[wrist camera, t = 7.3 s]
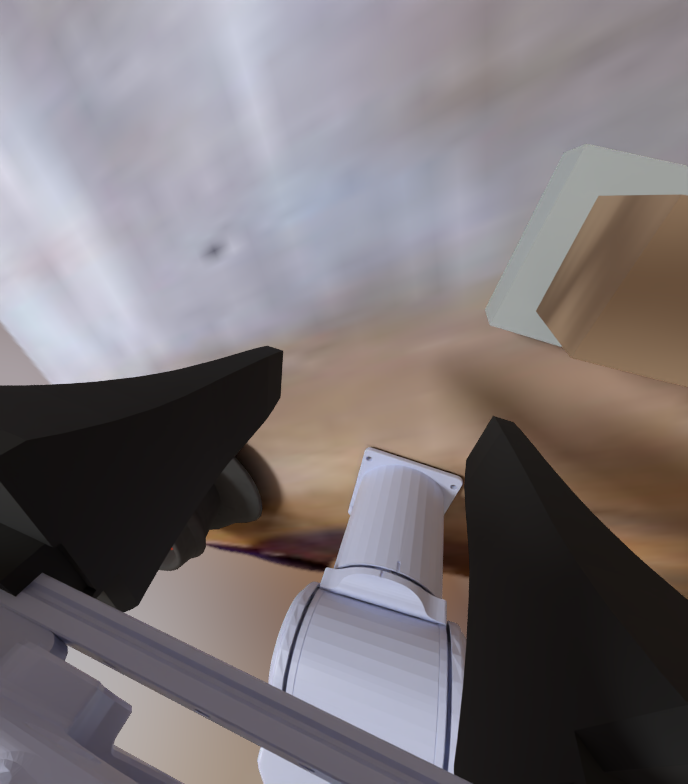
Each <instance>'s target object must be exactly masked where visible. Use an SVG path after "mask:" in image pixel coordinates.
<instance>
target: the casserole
mask: <svg viewBox="0 0 688 784" xmlns="http://www.w3.org/2000/svg"><path fill="white" fill-rule="evenodd" d="M262 509H263V508H262V501H261V497H260V494H259V492H258V489H257V486H256V485H255V483H254V481H253V480H252V478H251V476H250V475H249V473H248V472H247V471H246V469H245V468H244V467H243V466H242V464H241V463H240V462H239V461H238V460H237V459H236V458H235V457H234V458H233V459H232V460H231V461H230V462H229V464H228V465H227V466H226V467H225V469H224V470H223V471H222V472H221V474H220V475H219V476H218V478H217V479H216V481H215V482H214V484H213V485H212V486H211V488H210V489H209V491H208V492H207V494H206V495H205V497H204V498H203V500H202V501H201V503H200V504H199V506H198V507H197V509H196V510H195V512H194V513H193V515H192V516H191V518H190V519H189V521H188V522H187V524H186V525H185V527H184V529H183V530H182V532H181V533H180V535H179V537H178V538H177V540H176V542H175V543H174V545H173V546H172V548H171V550H170V551H169V553H168V554H167V556H166V558H165V560H164V561H163V563H162V565H161V566H160V568H159V570H166V571H172V570H176V569H178V568H179V567H181V566H182V565H183V564H184V563H185V562H187V561H188V560H189V559H191V558H194V557H198V556H200V555H201V554H202V553H203V552H204V550H205V548H206V536H207V534H208V532H209V530H212V529H220V528H223V527H225V526H228V525H231V524H234V523H246V522H251V521H255V520H257V519H258V518H259V517H260V516H261V514H262Z"/></svg>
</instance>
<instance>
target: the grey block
mask: <svg viewBox="0 0 688 784" xmlns="http://www.w3.org/2000/svg"><path fill="white" fill-rule="evenodd" d="M679 194H682V195H688V166H686V165H681V164H677V163H672V162H667V161H663V160H658V159H654V158H649V157H645V156H640V155H635V154H631V153H626V152H622V151H617V150H613V149H608V148H604V147H599V146H594V145H590V144H584V145H582V146H579V147H577V148H574V149H572V150H569V151H567V152H565V153H564V154H563V156H562V158H561V160H560V162H559V164H558V166H557V168H556V170H555V172H554V173H553V175H552V177H551V179H550V181H549V183H548V185H547V187H546V189H545V191H544V193H543V195H542V197H541V199H540V201H539V203H538V205H537V207H536V209H535V211H534V213H533V215H532V217H531V219H530V221H529V223H528V225H527V227H526V229H525V231H524V233H523V235H522V237H521V239H520V241H519V243H518V245H517V247H516V249H515V251H514V253H513V255H512V257H511V259H510V261H509V263H508V265H507V267H506V269H505V271H504V273H503V275H502V277H501V279H500V281H499V283H498V285H497V287H496V289H495V291H494V293H493V295H492V297H491V298H490V300H489V302H488V304H487V306H486V308H485V311H486V314H487V318H488V321H489V324H490V325H491V326H494V327H497V328H501V329H504V330H507V331H511V332H514V333H517V334H521V335H524V336H527V337H530V338H534V339H537V340H540V341H544V342H547V343H550V344H554V345H557V346H560V347H562V346H561V344H560V343H559V342H558V340H557V339H556V338H555V336H554V335H553V334H552V332H551V331H550V330H549V328H548V327H547V326H546V324H545V323H544V322H543V320H542V319H541V318H540V316H539V315H538V314H537V312H536V310H537V308H538V306H539V304H540V302H541V301H542V299H543V297H544V295H545V293H546V291H547V290H548V288H549V286H550V284H551V282H552V280H553V278H554V277H555V275H556V273H557V271H558V269H559V267H560V266H561V264H562V262H563V260H564V258H565V256H566V255H567V253H568V251H569V249H570V247H571V245H572V244H573V242H574V240H575V238H576V236H577V234H578V232H579V231H580V229H581V227H582V225H583V223H584V221H585V220H586V218H587V216H588V214H589V212H590V210H591V209H592V207H593V205H594V203H595V201H596V199H597V198H598V196H614V195H679Z"/></svg>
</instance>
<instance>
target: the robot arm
mask: <svg viewBox="0 0 688 784" xmlns="http://www.w3.org/2000/svg"><path fill="white" fill-rule="evenodd" d="M282 362H283V351H282V350H279V349H276V348H273V347H269V346H264V347H259V348H255V349H252V350H248V351H245V352H241V353H238V354H235V355H231V356H228V357H224V358H221V359H217V360H214V361H210V362H206V363H202V364H198V365H194V366H190V367H187V368H183V369H178V370H174V371H169V372H164V373H158V374H152V375H146V376H140V377H133V378H124V379H116V380H107V381H98V382H87V383H73V384H54V385H29V386H28V385H27V386H0V784H184V783H182V782H180V781H178V780H177V779H175V778H173V777H171V776H169V775H168V774H166V773H164V772H162V771H160V770H158V769H157V768H155V767H153V766H151V765H149V764H148V763H146V762H144V761H142V760H140V759H138V758H137V757H135V756H133V755H131V754H129V753H128V752H126V751H124V750H122V749H120V748H118V747H117V746H115V745H113V744H114V741H115V738H116V737H117V735H118V733H119V732H120V730H121V729H122V727H123V725H124V724H125V722H126V721H127V719H128V717H129V716H130V714H131V713H132V706H131V705H130V704H128V703H127V702H125V701H124V700H122V699H121V698H119V697H118V696H116V695H115V694H113V693H112V692H111V691H109V690H108V689H107V688H105V687H104V686H103V685H102V684H101V683H100V682H99V681H97V680H96V679H94V678H93V677H91V676H89V675H88V674H86V673H84V672H82V671H81V670H79V669H77V668H76V667H74V666H72V665H70V664H69V663H67V662H65V659H66V656H67V653H68V649H67V645H68V646H70V647H72V648H74V649H76V650H78V651H80V652H82V653H83V654H85V655H87V656H89V657H92V658H93V659H95V660H97V661H99V662H101V663H103V664H104V665H106V666H108V667H110V668H112V669H114V670H116V671H118V672H120V673H122V674H123V675H126V676H127V677H129V678H131V679H133V680H135V681H137V682H139V683H141V684H142V685H144V686H146V687H148V688H150V689H152V690H154V691H156V692H158V693H160V694H162V695H164V696H165V697H167V698H169V699H171V700H173V701H175V702H177V703H179V704H181V705H182V706H184V707H186V708H188V709H190V710H192V711H194V712H196V713H198V714H200V715H202V716H203V717H205V718H207V719H209V720H211V721H213V722H215V723H217V724H219V725H220V726H222V727H224V728H226V729H228V730H230V731H232V732H234V733H236V734H238V735H240V736H241V737H243V738H245V739H247V740H249V741H251V742H253V743H255V744H257V745H259V746H260V747H261V748H260V752H259V756H258V760H257V761H258V767H259V771H260V774H261V777H262V780H263V783H264V784H688V600H687V599H686V598H685V597H684V596H683V595H681V594H680V593H679V592H678V591H677V590H676V589H674V588H673V587H672V586H671V585H670V584H669V583H667V582H666V581H665V580H664V579H663V578H662V577H660V576H659V575H658V574H657V573H656V572H655V571H653V570H652V569H651V568H650V567H649V566H648V565H647V564H645V563H644V562H643V561H642V560H641V559H640V558H639V557H638V556H637V555H635V554H634V553H633V552H632V551H631V550H630V549H629V548H628V547H627V546H626V545H625V544H624V543H623V542H622V541H621V540H620V539H619V538H618V537H616V536H615V535H614V534H613V533H612V532H611V531H610V530H609V529H608V528H607V527H606V526H605V525H604V524H603V523H602V522H601V521H600V520H599V519H598V518H597V517H596V516H595V515H594V514H593V513H592V512H591V511H590V510H589V509H588V508H587V506H586V505H585V504H584V503H583V502H582V501H581V500H580V499H579V498H578V497H577V496H576V495H575V494H574V492H573V491H572V490H571V489H570V488H569V487H568V486H567V485H566V483H565V482H564V481H563V480H562V479H561V478H560V477H559V475H558V474H557V473H556V472H555V471H554V470H553V468H552V467H551V466H550V465H549V464H548V462H547V461H546V460H545V459H544V458H543V456H542V455H541V454H540V453H539V451H538V450H537V449H536V448H535V447H534V445H533V444H532V443H531V442H530V441H529V439H528V438H527V437H526V436H525V435H524V433H523V432H522V431H521V430H520V429H519V428H518V427H517V426H516V424H515V423H514V422H511V421H508V420H504V419H501V418H498V417H495V416H493V417H492V419H491V420H490V422H489V424H488V425H487V427H486V429H485V430H484V432H483V434H482V435H481V437H480V438H479V440H478V442H477V443H476V445H475V447H474V448H473V450H472V452H471V453H470V455H469V456H468V458H467V460H466V470H465V484H464V491H465V507H466V521H467V534H468V547H469V569H470V574H469V604H468V622H467V639H466V637H465V636H464V634H463V633H462V632H461V629H460V627H459V625H458V624H457V623H454V622H450V621H447V624H446V616H447V615H446V614H447V602H446V600H444V599H442V579H443V533H444V514H445V513H446V511H447V509H448V508H449V506H450V504H451V503H452V501H453V499H454V498H455V496H456V494H457V493H458V491H459V490H460V488H461V486H462V484H463V480H462V478H461V477H459V476H457V475H454V474H451V473H448V472H445V471H442V470H439V469H435V468H432V467H429V466H426V465H423V464H420V463H417V462H414V461H411V460H408V459H405V458H402V457H399V456H396V455H393V454H390V453H387V452H384V451H381V450H378V449H375V448H371V447H369V448H366V450H365V452H364V456H363V460H362V463H361V467H360V471H359V474H358V478H357V481H356V485H355V489H354V492H353V496H352V500H351V503H350V507H349V510H348V513H349V514H350V518H349V521H348V525H347V528H346V531H345V534H344V537H343V540H342V543H341V547H340V550H339V553H338V556H337V559H336V562H335V566H334V569H333V568H328V567H327V568H326V569H325V572H324V575H323V578H322V581H321V583H318V582H311V583H310V584H308V585H307V586H306V587H305V588H304V589H303V590H302V591H301V592H299V594H298V595H297V596H296V597H295V599H294V600H293V602H292V604H291V606H290V608H289V610H288V612H287V614H286V616H285V619H284V621H283V624H282V627H281V629H280V632H279V635H278V638H277V642H276V645H275V649H274V653H273V657H272V661H271V667H270V673H269V683H266V682H264V681H262V680H260V679H258V678H256V677H254V676H252V675H250V674H248V673H246V672H244V671H242V670H240V669H237V668H235V667H233V666H231V665H229V664H227V663H225V662H223V661H221V660H219V659H217V658H215V657H213V656H211V655H209V654H207V653H205V652H203V651H201V650H198V649H197V648H195V647H193V646H191V645H188V644H187V643H184V642H182V641H180V640H178V639H176V638H174V637H172V636H170V635H168V634H166V633H164V632H162V631H160V630H158V629H156V628H154V627H152V626H150V625H148V624H146V623H144V622H142V621H139V620H137V619H135V618H133V617H131V616H129V615H127V614H125V613H123V612H126V611H128V610H131V609H133V608H134V607H136V606H138V605H139V603H140V601H141V600H142V598H143V596H144V594H145V592H146V591H147V589H148V587H149V585H150V584H151V582H152V580H153V579H154V577H155V575H156V573H157V572H158V570H159V568H160V566H161V565H162V563H163V561H164V560H165V558H166V556H167V554H168V553H169V551H170V550H171V548H172V546H173V545H174V543H175V542H176V540H177V538H178V537H179V535H180V533H181V532H182V530H183V529H184V527H185V525H186V524H187V522H188V521H189V519H190V518H191V516H192V515H193V513H194V512H195V510H196V509H197V507H198V506H199V504H200V503H201V501H202V500H203V498H204V497H205V495H206V494H207V492H208V491H209V489H210V488H211V486H212V485H213V484H214V482H215V481H216V479H217V478H218V476H219V475H220V474H221V472H222V471H223V470H224V469H225V467H226V466H227V465H228V464H229V462H230V461H231V460H232V459H233V458H234V457H235V455H236V454H237V453H238V452H239V451H240V450H241V448H242V447H243V446H244V445H245V444H246V443H247V442H248V440H249V439H250V438H251V437H252V436H253V435H254V433H255V432H256V431H257V430H258V429H259V428H260V426H261V425H262V424H263V423H264V422H265V420H266V419H267V418H268V416H269V415H270V413H271V412H272V410H273V409H274V407H275V405H276V404H277V402H278V401H279V399H280V396H281V379H282ZM369 457H371V458H369ZM452 485H455V486H452Z"/></svg>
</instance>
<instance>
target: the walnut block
mask: <svg viewBox="0 0 688 784" xmlns="http://www.w3.org/2000/svg"><path fill="white" fill-rule="evenodd" d="M536 312H537V314H538V315H539V316H540V318H541V319H542V320H543V322H544V323H545V324H546V326H547V327H548V328H549V330H550V331H551V332H552V334H553V335H554V336H555V338H556V339H557V340H558V342H559V343H560V344H561V346H562V347H563V348H564V350H565V351H566V352H567V354H568V355H569V356H570V358H573V359H577V360H581V361H585V362H589V363H593V364H597V365H601V366H605V367H609V368H613V369H617V370H621V371H625V372H629V373H633V374H637V375H641V376H644V377H648V378H652V379H656V380H660V381H664V382H668V383H672V384H676V385H680V386H684V387H688V195H682V194H679V195H614V196H598V198H597V199H596V201H595V203H594V205H593V207H592V209H591V210H590V212H589V214H588V216H587V218H586V220H585V221H584V223H583V225H582V227H581V229H580V231H579V232H578V234H577V236H576V238H575V240H574V242H573V244H572V245H571V247H570V249H569V251H568V253H567V255H566V256H565V258H564V260H563V262H562V264H561V266H560V267H559V269H558V271H557V273H556V275H555V277H554V278H553V280H552V282H551V284H550V286H549V288H548V290H547V291H546V293H545V295H544V297H543V299H542V301H541V302H540V304H539V306H538V308H537V310H536Z"/></svg>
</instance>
